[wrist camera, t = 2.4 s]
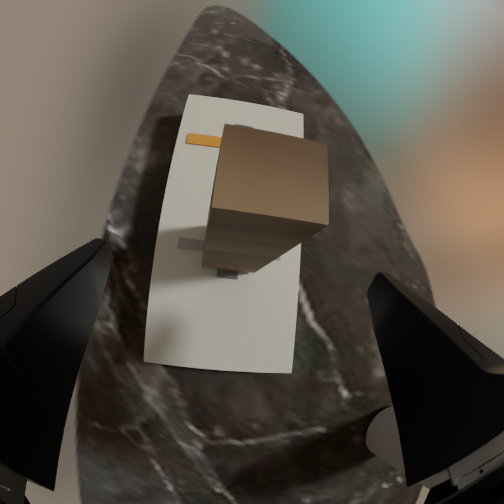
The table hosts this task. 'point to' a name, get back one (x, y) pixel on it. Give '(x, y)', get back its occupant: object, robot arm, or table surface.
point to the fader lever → (264, 198)
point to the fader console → (212, 279)
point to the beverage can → (392, 444)
